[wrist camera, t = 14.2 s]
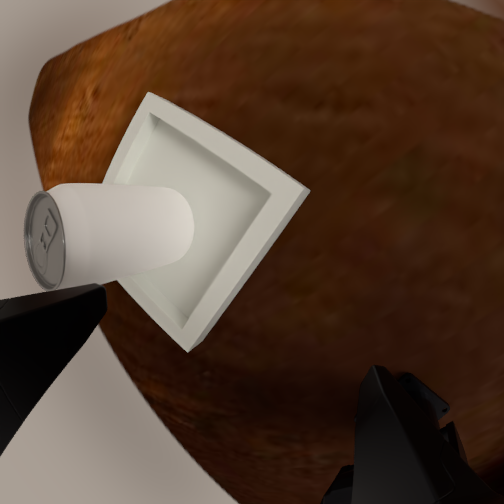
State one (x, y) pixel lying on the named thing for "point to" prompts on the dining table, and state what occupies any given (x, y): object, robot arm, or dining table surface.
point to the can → (104, 232)
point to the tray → (202, 213)
